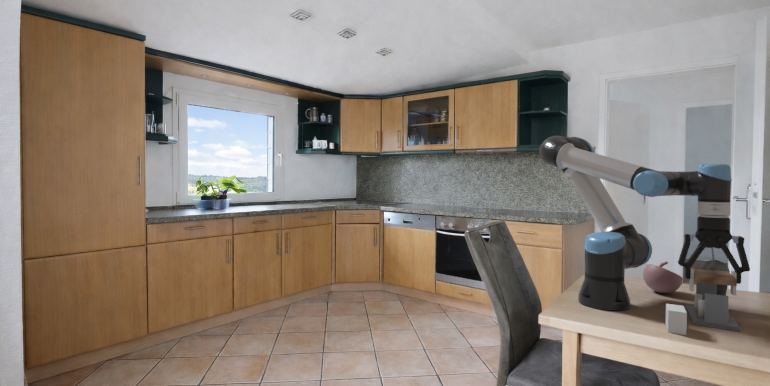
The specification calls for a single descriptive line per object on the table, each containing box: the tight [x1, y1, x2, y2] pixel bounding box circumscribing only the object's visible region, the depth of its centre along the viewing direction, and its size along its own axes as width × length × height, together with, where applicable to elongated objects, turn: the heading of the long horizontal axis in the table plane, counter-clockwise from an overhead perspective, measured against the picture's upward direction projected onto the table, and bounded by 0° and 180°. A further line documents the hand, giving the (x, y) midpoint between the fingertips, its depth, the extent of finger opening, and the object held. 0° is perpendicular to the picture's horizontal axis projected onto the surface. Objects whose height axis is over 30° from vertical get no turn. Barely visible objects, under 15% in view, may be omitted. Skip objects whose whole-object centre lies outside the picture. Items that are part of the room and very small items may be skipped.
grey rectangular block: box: [664, 303, 688, 336], centre depth 110 cm, size 4×7×6 cm, turn 149°
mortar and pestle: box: [642, 261, 684, 294], centre depth 146 cm, size 12×12×11 cm
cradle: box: [685, 281, 741, 332], centre depth 119 cm, size 10×17×9 cm, turn 149°
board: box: [693, 268, 738, 287], centre depth 118 cm, size 9×11×2 cm
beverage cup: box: [701, 247, 731, 296], centre depth 128 cm, size 7×7×20 cm
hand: (711, 291), depth 119 cm, fingers closed on board, 9 cm apart
